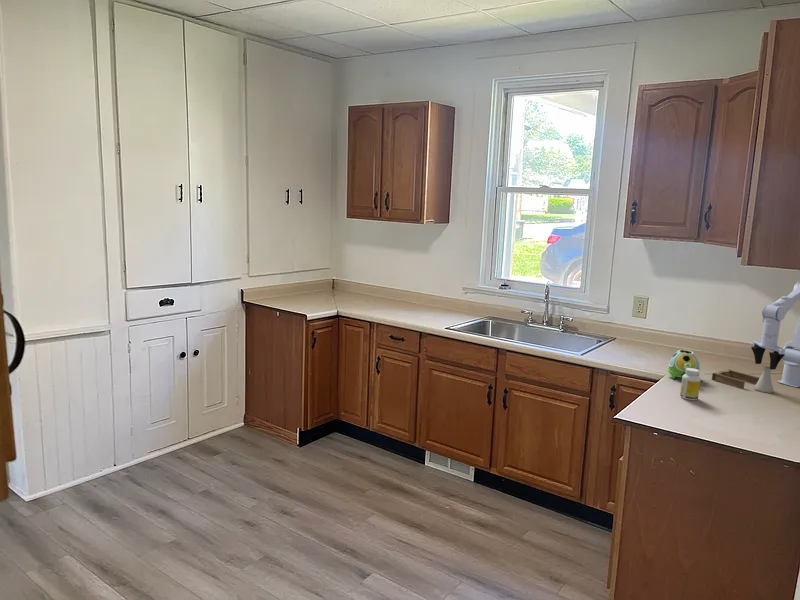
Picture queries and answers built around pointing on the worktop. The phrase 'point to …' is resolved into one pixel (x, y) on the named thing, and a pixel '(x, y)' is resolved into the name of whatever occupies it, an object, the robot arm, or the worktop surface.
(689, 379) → the pill bottle
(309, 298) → the worktop surface
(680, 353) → the turtle holder
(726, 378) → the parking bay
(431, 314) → the worktop surface
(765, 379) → the flask
